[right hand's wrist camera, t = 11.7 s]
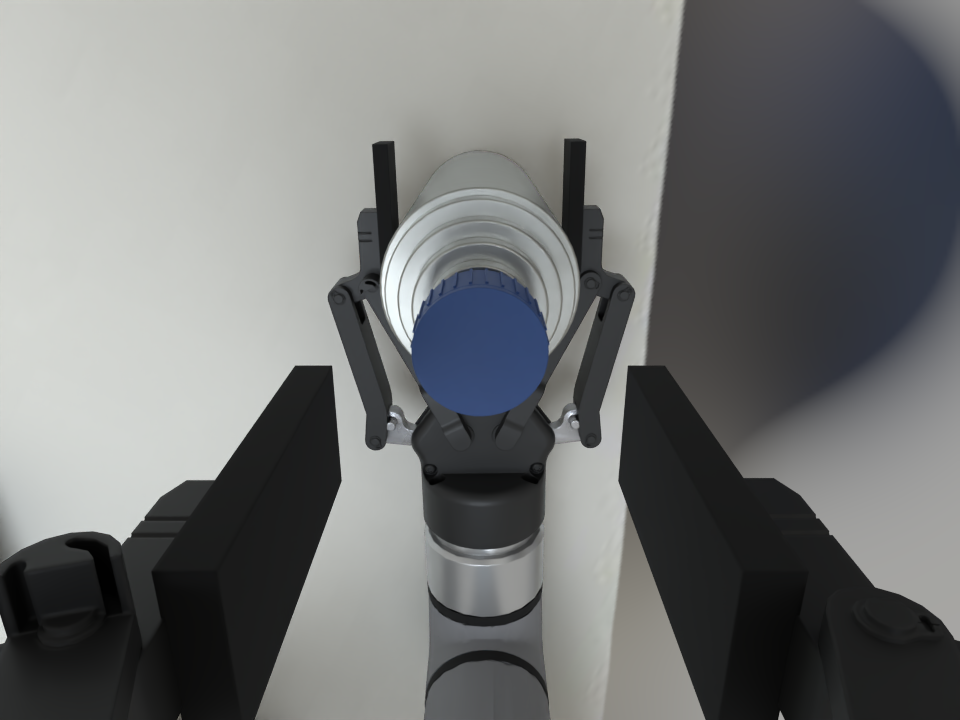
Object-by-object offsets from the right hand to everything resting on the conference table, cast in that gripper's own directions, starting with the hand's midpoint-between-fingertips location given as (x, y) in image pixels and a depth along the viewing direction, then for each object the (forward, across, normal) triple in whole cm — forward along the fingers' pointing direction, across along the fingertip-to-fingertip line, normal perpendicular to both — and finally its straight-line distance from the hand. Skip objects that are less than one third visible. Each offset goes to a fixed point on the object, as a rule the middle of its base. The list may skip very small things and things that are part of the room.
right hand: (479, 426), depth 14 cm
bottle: (+30, 0, 0) cm, 30 cm away
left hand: (+23, 0, -4) cm, 24 cm away
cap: (+5, 0, 0) cm, 5 cm away
